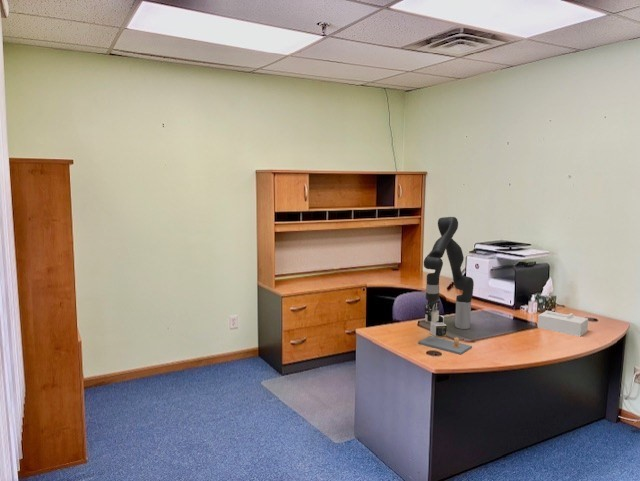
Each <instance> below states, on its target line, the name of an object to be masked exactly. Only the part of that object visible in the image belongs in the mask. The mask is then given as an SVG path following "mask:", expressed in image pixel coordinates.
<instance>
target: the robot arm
mask: <svg viewBox="0 0 640 481" xmlns="http://www.w3.org/2000/svg"><path fill="white" fill-rule="evenodd" d="M437 228H438V231H439V233H440V237H439V238H438V239H437V240H436V241H435V242H434V245H433V246H432V248H431V249H432V250H431V251H430V252H429V253H428V254H427V255H426V256H425V258H424V261H423V267H424V268H425V269H427V270H432V271H433V270H434V272H429V273H427V275H426V284H425V285H426V286H425V300H426V301H427V304H424V315H425V314H427V321H429V322H428V323H431V314H432V312H433V310H438V311H439V312H440V304H441V303H440V302H441V300H440V277H441V276H440V275H441V271H442V269H443V267H444V266H443V264H444V261H443V259H442V258H443V256H444V254H445V252H446V255H447V258H448V262H449V266H450V270H451V274H452V280H453V284H454V287H455V288H456V289H457V290H460V291H462V294H458V295H457V296H456V298H455V317H454V319H455V322H454V327H455V328H457V329H460V330H461V329H462V330H468V329H470V328H471V313H472V311H471V310H472V298H473V297H474V296H473V295H474V294H473V293H474V283H475V282H474V279H473V278H472V277H471V276H466V275H463V273H462V269H461V267H462V265H463V263H464V259H465V258H464V254H463V250H462V247H461V246H460V245H459V243H458V242H456V240H454V238H453V237H454V235H455V234H456V232H457V231H458V228H459V221H458V218H456V217H455V216H444V217H440V218H439V219H438V220H437ZM430 309H431V310H430ZM427 321H426V322H427Z"/></svg>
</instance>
